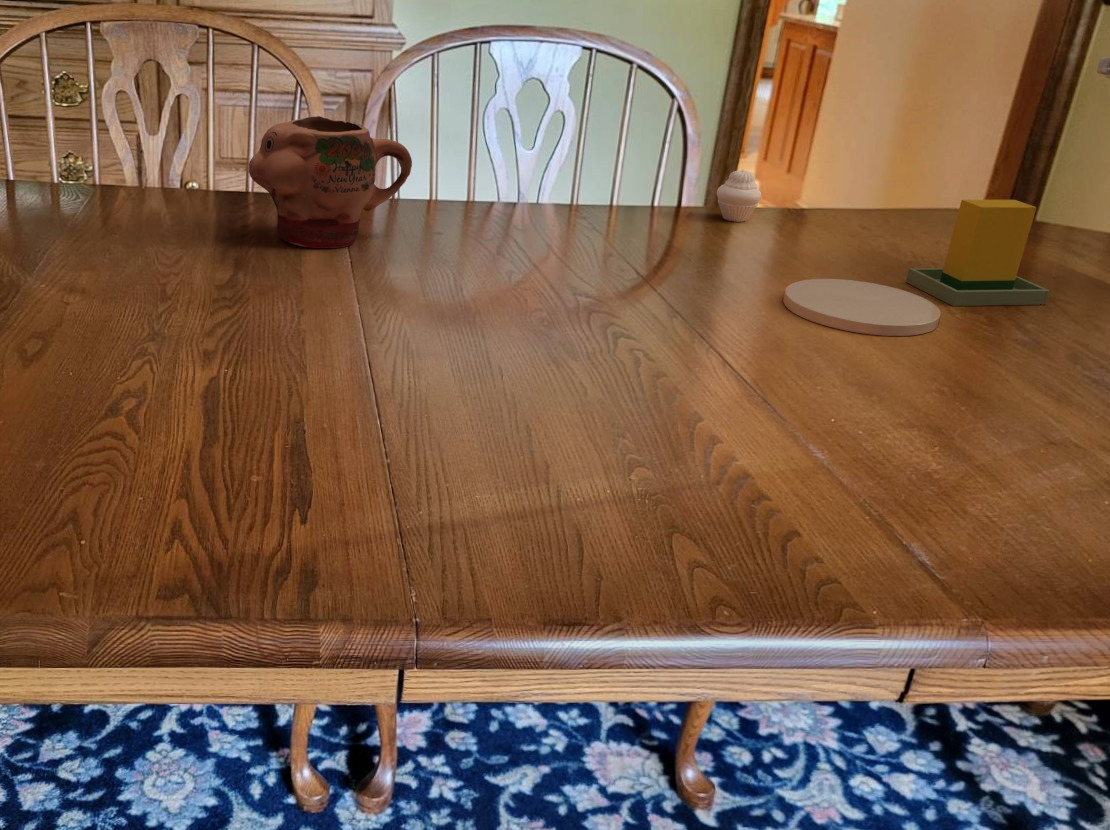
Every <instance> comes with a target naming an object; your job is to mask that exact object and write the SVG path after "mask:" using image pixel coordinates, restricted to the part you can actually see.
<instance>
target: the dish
mask: <svg viewBox="0 0 1110 830" xmlns="http://www.w3.org/2000/svg"><path fill="white" fill-rule="evenodd" d="M943 268H944V267H922V268H921V267H919V268H918V267H917V268H915V267H914V268H913V267H909V268H908V271H907V275H906V281H905V282H906V283H907V284H909V285H910V286H912V287H915V288H917V289H918V290H921V291H922V292H923V293H924V292H925V293H926V294H928V295H930V296H932V297H934V298H936V299H938V300H940V301H942V302H944V303H945V304H948V305H950V306H952V307H972V306H973V307H979V306H980V307H981V306H982V307H983V306H984V307H985V306H986V307H987V306H1039V305H1040V304H1041V305H1040V306H1046V305H1047V301H1048V298H1049V295H1050V292H1051V290H1050V289H1047V288H1045V287H1043V286H1041V285H1038V284H1037V283H1034V282H1032V281H1029V280H1028V279H1025V278H1022V277H1020V276H1018V275H1016V279H1015V280H1014V281H1015V282H1014V286H1013V289H1012V290H956V289H954V288H952V287H950V286H948V285H946V284H944V283H942V282H940V279H941V275H942V272H943ZM1045 304H1046V305H1045Z"/></svg>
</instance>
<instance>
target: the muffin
mask: <svg viewBox="0 0 1110 830" xmlns="http://www.w3.org/2000/svg"><path fill="white" fill-rule="evenodd" d="M716 197H717V204H718V207H719V210H720V213H721V216H722V219H724V220H726V221H729V222H735V223H736V222H737V223H741V222H746V221H747V220H748V219H749V217H750V216H751V215H752V214H753V212H754V211H755V210H756V208H757V207H758V206H759V204H758V203H760V201H761V199H762V192H761V190H760V189H759V188H758V185H757V183H756V176H755V175H754V173H752V172H750V171H747V170H745V169H744V168H743V169H742V170H741V169H740V170H739V169H738V170H734V171H732V172H731V173H730V174H729V176H728V179H727V180H725V182H724V184H721V185H719V187H717V190H716Z"/></svg>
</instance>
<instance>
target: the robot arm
mask: <svg viewBox="0 0 1110 830" xmlns="http://www.w3.org/2000/svg"><path fill="white" fill-rule="evenodd" d="M1096 73H1097V74H1099V75H1104V77H1105V78H1106V79H1109V80H1110V56H1103V57H1101V58H1100V59H1099V61H1098V64H1097V68H1096Z"/></svg>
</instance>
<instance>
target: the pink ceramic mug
mask: <svg viewBox="0 0 1110 830" xmlns="http://www.w3.org/2000/svg"><path fill="white" fill-rule="evenodd" d="M260 143H261V144H260V147H259V149H258V152H257V153H256V154H254V155H253V156H252V157H251V159H250V160H249V162H248V174H249V176H250V178H251V179H252V181H253V182H255V183H256V184H257V185H259V186H260V187H261V188H263V189H264V190H265V191H266V192H267V193H268V194H269V195H270V197H271V199H272V201H273V203H274V206H275V208H276V213H277V220H276V232H277V235H278V237H279V238H280V239H282V240H284V241H285V242H286V243H289V244H291V245H292V244H293V245H295V246H300V247H303V248H312V249H314V248H315V249H331V248H332V249H334V248H335V249H336V248H344V247H345V248H346V247H350V246H352V244H354V243H355V242H356V241H357V238H358V235H359V229H360V224H361V223H360V222H361V213H362V210H364V211H366V212H371V211H373V210H374V209H376V208H377V207H379V206H380V205H382V204H383V203H385V202H387V201H388V200H389V199H391V198H392V197H393V196H394V195H395V194H396V193H398V192H399V191H400V189H401V188H402V186H403V185H404V184H405V183H406V181H407V179H408V177H409V176H410V175H411V171H412V167H413V160H412V157H411V153H410V152H409V150H408V149H407V148H406V146H404V145H403V144H402V143H400V142H399V141H396V140H393V139H389V138H372V137H371V134H370V131H369V128H366V127H365V126H363V125H362V124H359V123H353V122H349V121H346V120H337V119H330V118H327V117H322V116H319V115H318V116H317V115H316V116H309V117H304V118H298V119H293V120H289V121H286V122H280V123H277V124H274V125H273V126H270V127H269V128H268V129H267V130H266V132H265V133H264V134H263V136H262V138H261V142H260ZM384 157H392V158H394V159H395V160H396V161H397V162H398V164H399V166H400V167H399V168H400V173H399V176H398V177H397V178H396V179H395V181H394V182H393V183H392V184H391V185H390V186H388V187H386V188H379V187H378V186H377V185H376V184H375V183H376V178H377V176H376V175H377V173H376V170H377V169H376V167H377V164H378V162H379V161H380V160H381V159H382V158H384Z"/></svg>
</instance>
